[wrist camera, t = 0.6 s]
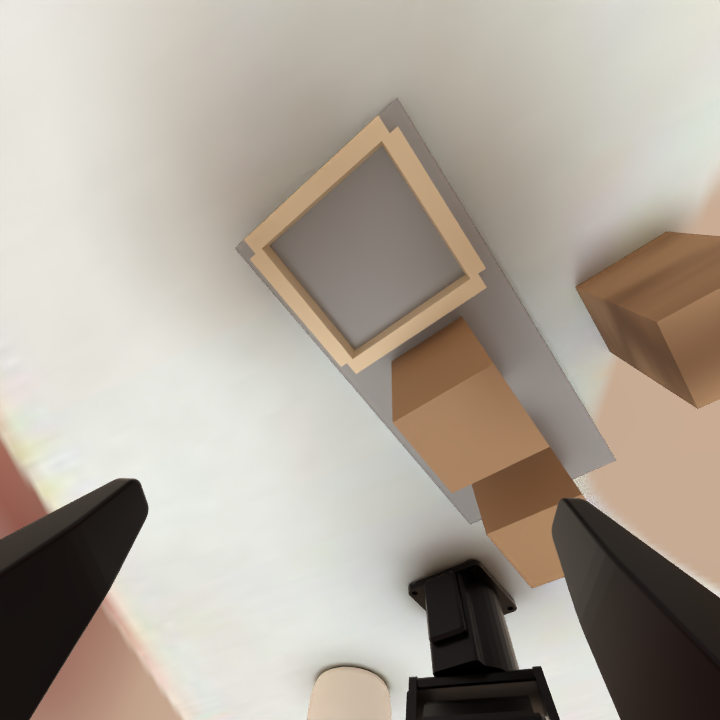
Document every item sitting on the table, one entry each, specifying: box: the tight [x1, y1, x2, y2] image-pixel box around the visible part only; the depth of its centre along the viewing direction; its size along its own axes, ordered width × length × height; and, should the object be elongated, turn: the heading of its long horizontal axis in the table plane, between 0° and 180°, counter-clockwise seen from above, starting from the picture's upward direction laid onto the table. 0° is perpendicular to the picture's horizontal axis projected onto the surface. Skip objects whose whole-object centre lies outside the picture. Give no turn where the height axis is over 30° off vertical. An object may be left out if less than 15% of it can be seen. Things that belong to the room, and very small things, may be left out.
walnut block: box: [575, 232, 720, 409], centre depth 15 cm, size 4×4×6 cm
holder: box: [235, 98, 616, 588], centre depth 17 cm, size 23×10×7 cm, turn 38°
